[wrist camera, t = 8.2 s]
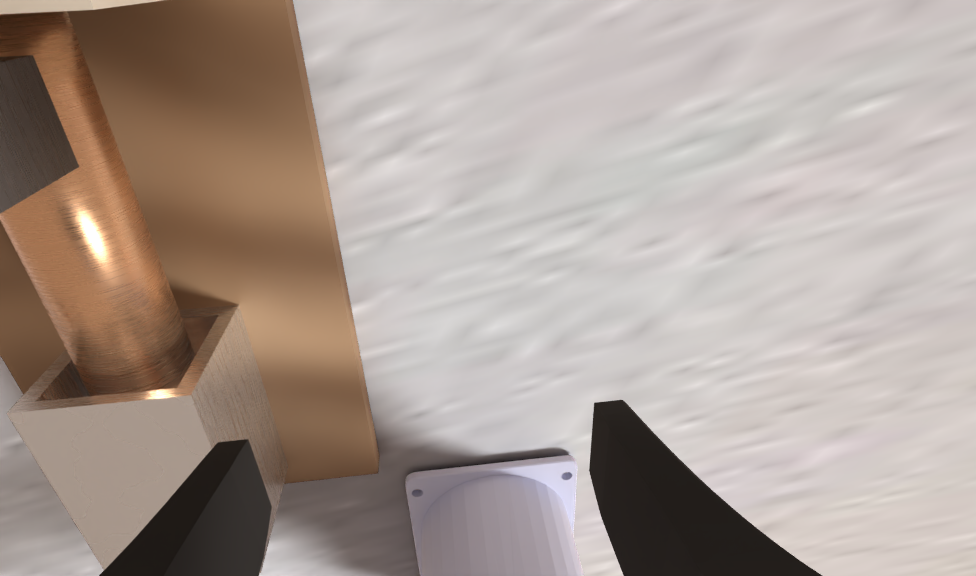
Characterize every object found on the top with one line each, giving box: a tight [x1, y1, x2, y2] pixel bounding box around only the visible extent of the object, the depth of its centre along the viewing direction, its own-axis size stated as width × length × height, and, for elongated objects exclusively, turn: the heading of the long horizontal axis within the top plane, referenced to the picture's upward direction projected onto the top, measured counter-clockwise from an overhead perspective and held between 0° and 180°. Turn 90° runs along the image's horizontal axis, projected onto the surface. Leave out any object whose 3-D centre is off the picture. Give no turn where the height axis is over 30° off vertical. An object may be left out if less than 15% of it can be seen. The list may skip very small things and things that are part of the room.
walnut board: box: [0, 0, 379, 484], centre depth 19 cm, size 23×12×1 cm, turn 2°
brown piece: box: [0, 11, 196, 396], centre depth 13 cm, size 14×3×6 cm, turn 2°
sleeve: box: [6, 305, 288, 573], centre depth 19 cm, size 8×5×5 cm, turn 2°
